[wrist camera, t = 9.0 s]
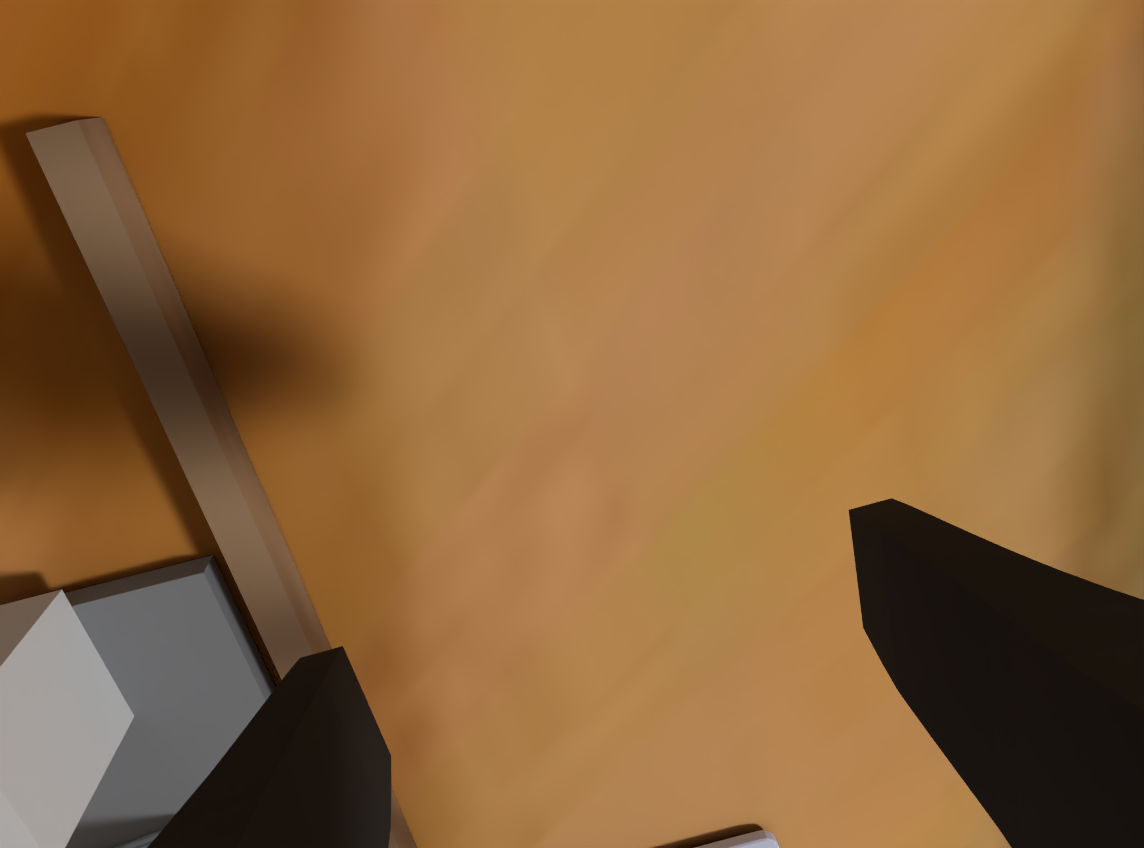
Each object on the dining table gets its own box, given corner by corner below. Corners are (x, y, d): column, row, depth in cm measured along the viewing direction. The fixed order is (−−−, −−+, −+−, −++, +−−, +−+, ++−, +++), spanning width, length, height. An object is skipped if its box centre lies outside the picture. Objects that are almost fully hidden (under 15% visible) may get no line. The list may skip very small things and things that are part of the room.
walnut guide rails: (459, 947, 27) (459, 984, 26) (80, 1047, 27) (64, 1088, 26) (102, 117, 17) (76, 119, 16) (-512, 271, 17) (-582, 284, 16)
